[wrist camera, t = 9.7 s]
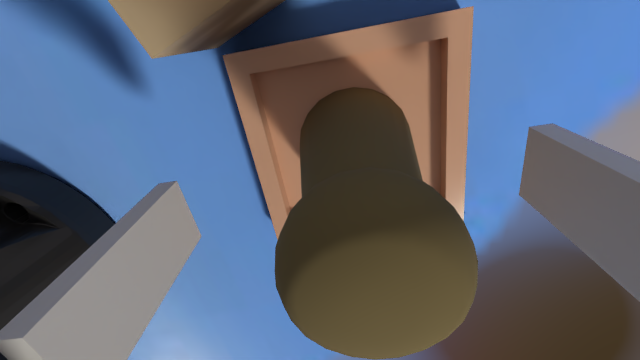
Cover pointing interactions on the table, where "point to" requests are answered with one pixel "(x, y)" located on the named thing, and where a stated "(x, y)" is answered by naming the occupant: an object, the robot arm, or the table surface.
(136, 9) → the oak block
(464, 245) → the cork
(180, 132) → the table surface
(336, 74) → the terracotta dish
